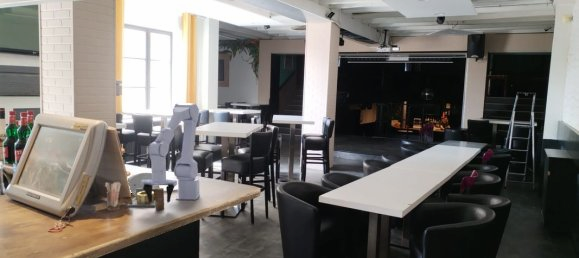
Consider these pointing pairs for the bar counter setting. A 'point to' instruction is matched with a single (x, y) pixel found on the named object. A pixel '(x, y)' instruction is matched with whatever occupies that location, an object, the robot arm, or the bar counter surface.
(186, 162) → the robot arm
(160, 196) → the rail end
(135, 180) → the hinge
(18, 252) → the bar counter surface
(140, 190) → the cup bracket
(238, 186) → the bar counter surface
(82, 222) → the bar counter surface
